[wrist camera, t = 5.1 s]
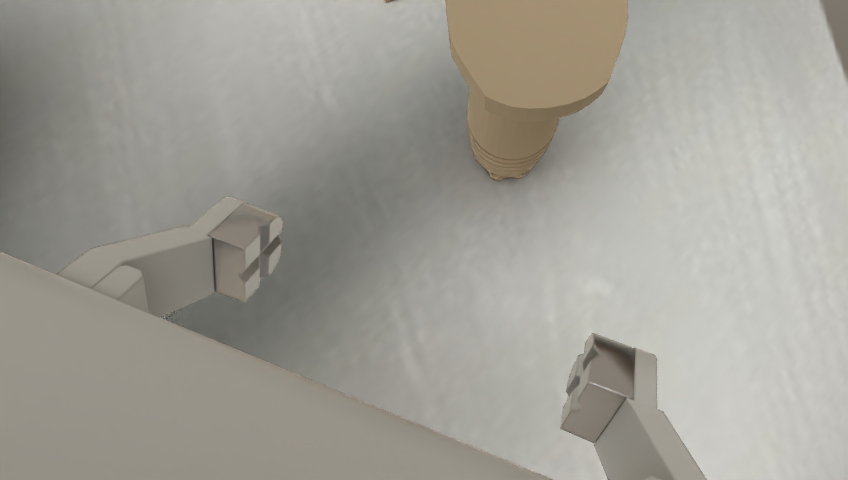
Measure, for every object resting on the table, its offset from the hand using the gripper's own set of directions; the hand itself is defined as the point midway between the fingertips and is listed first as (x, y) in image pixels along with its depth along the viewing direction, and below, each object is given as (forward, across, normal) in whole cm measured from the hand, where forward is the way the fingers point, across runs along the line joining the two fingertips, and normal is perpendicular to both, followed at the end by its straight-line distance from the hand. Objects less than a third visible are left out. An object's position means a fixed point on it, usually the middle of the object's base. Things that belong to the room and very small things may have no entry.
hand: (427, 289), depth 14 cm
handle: (+17, 0, +5) cm, 18 cm away
